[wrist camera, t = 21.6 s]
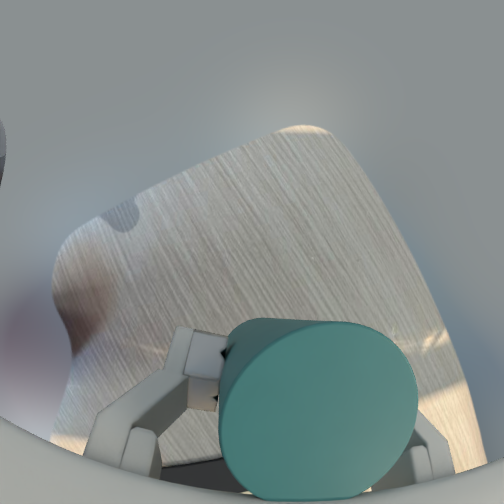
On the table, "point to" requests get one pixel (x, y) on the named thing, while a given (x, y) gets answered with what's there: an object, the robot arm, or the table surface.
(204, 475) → the desk mat
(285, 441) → the cylinder
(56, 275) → the table surface
